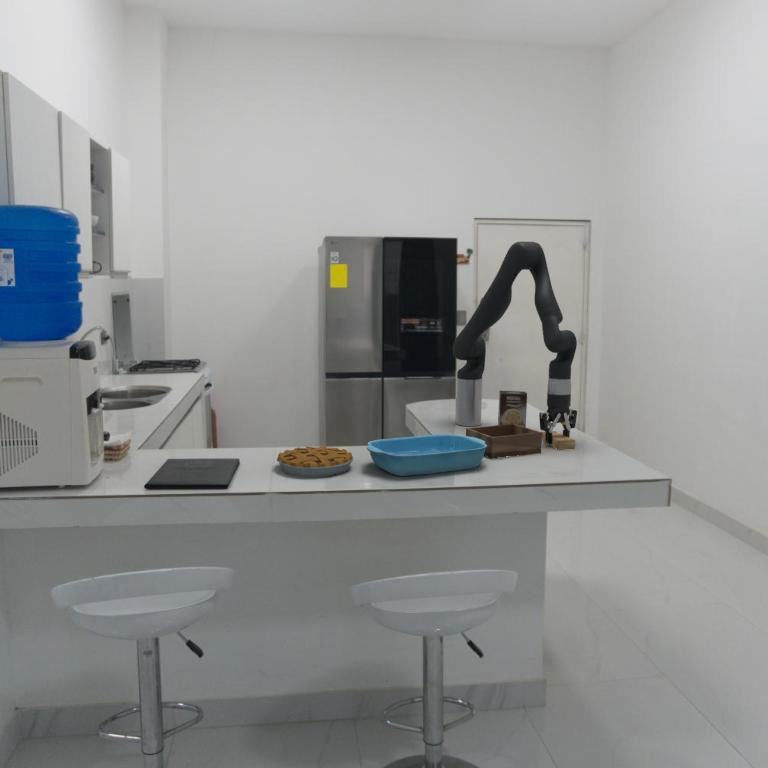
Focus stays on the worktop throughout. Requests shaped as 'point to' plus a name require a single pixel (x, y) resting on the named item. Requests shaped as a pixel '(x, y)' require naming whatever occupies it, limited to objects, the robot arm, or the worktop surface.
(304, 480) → the worktop surface
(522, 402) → the coffee box
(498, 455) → the wooden box
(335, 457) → the pie
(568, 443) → the tan flat block
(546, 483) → the worktop surface
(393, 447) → the casserole dish
